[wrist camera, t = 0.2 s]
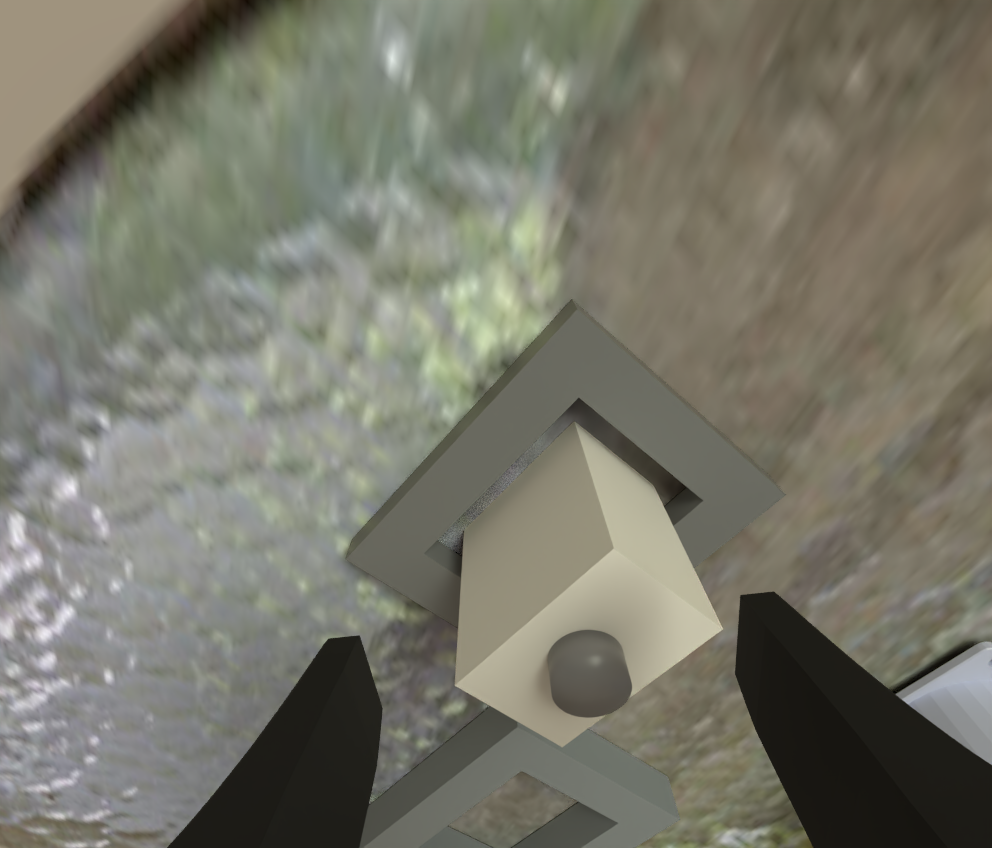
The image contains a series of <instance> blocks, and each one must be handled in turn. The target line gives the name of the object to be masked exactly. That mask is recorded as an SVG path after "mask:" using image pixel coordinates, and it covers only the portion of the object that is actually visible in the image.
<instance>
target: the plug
mask: <svg viewBox="0 0 992 848" xmlns="http://www.w3.org/2000/svg"><path fill="white" fill-rule="evenodd" d="M722 629H723V628H722V626H721V624H720V622H719V620H718V618H717V616H716V613H715V611H714V609H713V607H712V605H711V603H710V601H709V599H708V597H707V595H706V593H705V591H704V589H703V587H702V585H701V582H700V580H699V578H698V576H697V574H696V572H695V570H694V568H693V566H692V564H691V562H690V560H689V558H688V556H687V554H686V551H685V549H684V547H683V545H682V543H681V541H680V539H679V537H678V535H677V533H676V531H675V529H674V527H673V525H672V523H671V521H670V518H669V516H668V514H667V512H666V510H665V508H664V506H663V504H662V502H661V500H660V498H659V496H658V494H657V492H656V490H655V487H654V485H653V484H652V483H651V482H649V481H648V480H647V479H646V478H644V477H643V476H642V475H641V474H639V473H638V472H637V471H636V470H634V469H633V468H632V467H631V466H630V465H628V464H627V463H626V462H625V461H623V460H622V459H621V458H620V457H618V456H617V455H616V454H615V453H613V452H612V451H611V450H610V449H608V448H607V447H606V446H605V445H604V444H602V443H601V442H600V441H599V440H597V439H596V438H595V437H594V436H592V435H591V434H590V433H589V432H587V431H586V430H585V429H584V428H583V427H581V426H580V425H579V424H578V423H576V422H575V421H574V422H572V423H571V424H570V425H569V426H568V427H567V428H566V429H565V430H564V431H563V432H562V433H561V434H560V435H559V436H558V437H557V438H556V439H555V440H554V441H553V442H552V443H551V444H550V445H549V446H548V447H547V448H546V449H545V450H544V451H543V452H542V453H541V454H540V455H539V456H538V457H537V458H536V459H535V460H534V461H533V462H532V463H531V464H530V465H529V466H528V467H527V468H526V469H525V470H524V471H523V472H522V473H521V474H520V475H519V476H518V477H517V478H516V479H515V480H514V481H513V482H512V483H511V484H510V485H509V486H508V487H507V488H506V489H505V490H504V491H503V492H502V493H501V494H500V495H499V496H498V497H497V498H496V499H495V500H494V501H493V502H492V503H491V504H490V505H489V506H488V507H487V508H486V509H485V510H484V511H483V512H482V513H481V514H480V515H479V516H478V517H477V518H476V519H475V520H474V521H473V522H472V523H471V524H470V525H469V526H468V527H467V528H466V529H465V530H464V539H463V556H462V573H461V589H460V606H459V623H458V640H457V656H456V673H455V686H456V687H458V688H460V689H462V690H463V691H465V692H467V693H469V694H470V695H472V696H474V697H476V698H477V699H479V700H481V701H482V702H484V703H486V704H488V705H489V706H491V707H493V708H495V709H496V710H498V711H500V712H502V713H503V714H505V715H507V716H509V717H510V718H512V719H514V720H516V721H517V722H519V723H521V724H523V725H524V726H526V727H528V728H529V729H531V730H533V731H535V732H536V733H538V734H540V735H542V736H543V737H545V738H547V739H549V740H550V741H552V742H554V743H556V744H557V745H559V746H561V747H563V746H565V745H566V744H568V743H569V742H570V741H572V740H573V739H574V738H576V737H577V736H578V735H580V734H581V733H582V732H584V731H585V730H587V729H588V728H589V727H591V726H592V725H593V724H595V723H596V722H597V721H599V720H600V719H601V718H603V717H604V716H606V715H607V714H610V713H612V712H614V711H616V710H617V709H619V708H620V707H621V706H623V705H624V704H625V703H626V702H627V700H628V699H629V698H630V697H631V696H633V695H634V694H635V693H637V692H638V691H640V690H641V689H642V688H644V687H645V686H646V685H648V684H649V683H650V682H652V681H653V680H654V679H656V678H657V677H659V676H660V675H661V674H663V673H664V672H665V671H667V670H668V669H669V668H671V667H672V666H673V665H675V664H676V663H678V662H679V661H680V660H682V659H683V658H684V657H686V656H687V655H688V654H690V653H691V652H693V651H694V650H695V649H697V648H698V647H699V646H701V645H702V644H703V643H705V642H706V641H707V640H709V639H710V638H712V637H713V636H714V635H716V634H717V633H718V632H720V631H721V630H722Z"/></svg>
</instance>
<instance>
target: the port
mask: <svg viewBox="0 0 992 848" xmlns="http://www.w3.org/2000/svg"><path fill="white" fill-rule="evenodd" d="M521 771H523V772H525V773H527V774H528V775H530V776H532V777H534V778H536V779H538V780H540V781H541V782H543V783H545V784H547V785H549V786H551V787H552V788H554V789H556V790H558V791H560V792H562V793H564V794H565V795H567V796H569V797H571V798H573V799H575V800H576V801H578V803H577V804H575V805H574V806H572V807H571V808H569V809H568V810H566V811H565V812H563V813H562V814H561V815H559V816H558V817H556V818H555V819H553V820H552V821H550V822H549V823H547V824H546V825H544V826H543V827H542V828H540V829H539V830H537V831H536V832H534V833H533V834H531V835H530V836H528V837H527V838H525V839H524V840H523V841H521V842H520V843H518V844H517V845H515V846H514V847H512V848H635V847H637V846H638V845H640V844H642V843H643V842H645V841H646V840H648V839H650V838H651V837H653V836H654V835H656V834H658V833H659V832H661V831H663V830H664V829H666V828H667V827H669V826H671V825H672V824H674V823H675V822H677V821H679V820H680V817H679V814H678V810H677V807H676V803H675V800H674V796H673V793H672V789H671V786H670V782H669V779H668V777H667V776H666V775H664V774H662V773H661V772H659V771H657V770H656V769H654V768H652V767H651V766H649V765H647V764H646V763H644V762H642V761H641V760H639V759H637V758H636V757H634V756H632V755H631V754H629V753H627V752H626V751H624V750H622V749H620V748H619V747H617V746H615V745H614V744H612V743H610V742H609V741H607V740H605V739H604V738H602V737H600V736H599V735H597V734H595V733H594V732H592V731H590V730H589V729H587V730H585V731H584V732H582V733H581V734H580V735H578V736H577V737H576V738H574V739H573V740H572V741H570V742H569V743H568V744H566V745H565V746H563V747H561V746H559V745H557V744H556V743H554V742H552V741H550V740H549V739H547V738H545V737H543V736H542V735H540V734H538V733H536V732H535V731H533V730H531V729H529V728H528V727H526V726H524V725H523V724H521V723H519V722H517V721H516V720H514V719H512V718H510V717H509V716H507V715H505V714H503V713H502V712H500V711H498V710H496V709H495V708H493V707H491V706H490V707H489V708H488V709H486V710H485V711H484V712H483V713H482V714H480V715H479V716H478V717H477V718H475V719H474V720H473V721H472V722H471V723H469V724H468V725H467V726H466V727H464V728H463V729H462V730H461V731H460V732H458V733H457V734H456V735H455V736H453V737H452V738H451V739H450V740H449V741H447V742H446V743H445V744H444V745H442V746H441V747H440V748H439V749H438V750H436V751H435V752H434V753H433V754H431V755H430V756H429V757H428V758H427V759H425V760H424V761H423V762H422V763H420V764H419V765H418V766H417V767H416V768H414V769H413V770H412V771H411V772H409V773H408V774H407V775H406V776H405V777H403V778H402V779H401V780H400V781H398V782H397V783H396V784H395V785H394V786H392V787H391V788H390V789H389V790H387V791H386V792H385V793H384V794H383V795H381V796H380V797H379V798H378V799H376V800H375V801H374V802H373V803H372V804H370V805H369V806H368V810H367V815H366V819H365V824H364V828H363V833H362V838H361V842H360V847H359V848H492V847H490V846H488V845H486V844H483V843H481V842H479V841H477V840H475V839H473V838H471V837H469V836H467V835H465V834H463V833H461V832H458V831H456V830H454V829H452V828H450V827H448V825H449V824H451V823H452V822H453V821H455V820H456V819H457V818H459V817H460V816H461V815H463V814H464V813H465V812H467V811H468V810H469V809H471V808H472V807H474V806H475V805H476V804H478V803H479V802H480V801H482V800H483V799H484V798H486V797H487V796H488V795H490V794H491V793H492V792H494V791H495V790H496V789H498V788H499V787H500V786H502V785H503V784H504V783H506V782H507V781H508V780H510V779H511V778H513V777H514V776H515V775H517V774H518V773H519V772H521Z"/></svg>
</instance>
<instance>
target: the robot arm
mask: <svg viewBox="0 0 992 848" xmlns="http://www.w3.org/2000/svg"><path fill="white" fill-rule="evenodd" d="M735 675H736V677H737V680H738V683H739V686H740V689H741V692H742V694H743V697H744V700H745V703H746V706H747V708H748V711H749V714H750V716H751V719H752V722H753V724H754V727H755V730H756V732H757V734H758V736H759V738H760V740H761V742H762V744H763V746H764V748H765V750H766V752H767V754H768V757H769V759H770V761H771V763H772V765H773V767H774V769H775V771H776V773H777V775H778V777H779V779H780V781H781V783H782V785H783V787H784V789H785V791H786V793H787V795H788V797H789V799H790V801H791V803H792V805H793V807H794V809H795V811H796V813H797V815H798V817H799V819H800V821H801V823H802V825H803V827H804V829H805V831H806V833H807V835H808V837H809V839H810V841H811V843H812V845H813V848H992V643H991V642H981V643H978V644H976V645H974V646H973V647H971V648H969V649H968V650H966V651H965V652H963V653H961V654H960V655H958V656H956V657H955V658H953V659H952V660H950V661H948V662H947V663H945V664H943V665H942V666H940V667H939V668H937V669H935V670H934V671H932V672H930V673H929V674H927V675H926V676H924V677H922V678H921V679H919V680H917V681H916V682H914V683H913V684H911V685H909V686H908V687H906V688H904V689H903V690H901V691H900V692H898V693H896V694H894V693H893V692H892V691H890V690H889V689H888V688H887V687H885V686H884V685H883V684H882V683H881V682H879V681H878V680H877V679H876V678H874V677H873V676H872V675H871V674H870V673H868V672H867V671H866V670H865V669H863V668H862V667H861V666H860V665H858V664H857V663H856V662H855V661H854V660H852V659H851V658H850V657H849V656H848V655H847V654H845V653H844V652H843V651H842V650H841V649H839V648H838V647H837V646H836V645H835V644H834V643H832V642H831V641H830V640H829V639H828V638H827V637H826V636H824V635H823V634H822V633H821V632H820V631H819V630H817V629H816V628H815V627H814V626H813V625H812V624H811V623H809V622H808V621H807V620H806V619H805V618H804V617H803V616H802V615H800V614H799V613H798V612H797V611H796V610H795V609H794V608H792V607H791V606H790V605H789V604H788V603H787V602H786V601H784V600H783V599H782V598H781V597H780V596H779V595H777V594H776V593H775V592H766V593H756V594H747V595H740V610H739V624H738V639H737V654H736V668H735ZM381 720H382V705H381V702H380V699H379V696H378V693H377V689H376V686H375V683H374V680H373V677H372V673H371V670H370V667H369V664H368V661H367V658H366V654H365V651H364V648H363V645H362V642H361V638H360V635H359V636H350V637H340V638H331V639H328V640H327V641H326V642H325V644H324V645H323V646H322V648H321V649H320V651H319V652H318V654H317V655H316V656H315V658H314V659H313V661H312V662H311V664H310V665H309V667H308V668H307V670H306V671H305V672H304V674H303V675H302V677H301V678H300V680H299V681H298V683H297V684H296V686H295V687H294V688H293V690H292V691H291V693H290V694H289V695H288V697H287V698H286V700H285V701H284V703H283V704H282V705H281V707H280V708H279V710H278V711H277V712H276V714H275V715H274V716H273V718H272V719H271V720H270V722H269V723H268V725H267V726H266V727H265V729H264V730H263V731H262V733H261V734H260V735H259V737H258V738H257V740H256V741H255V742H254V744H253V745H252V746H251V748H250V749H249V750H248V752H247V753H246V754H245V755H244V757H243V758H242V759H241V760H240V762H239V763H238V764H237V765H236V767H235V768H234V769H233V770H232V772H231V773H230V774H229V775H228V777H227V778H226V779H225V781H224V782H223V783H222V784H221V786H220V787H219V788H218V789H217V791H216V792H215V793H214V794H213V796H212V797H211V798H210V799H209V800H208V802H207V803H206V804H205V805H204V806H203V807H202V809H201V810H200V811H199V812H198V813H197V815H196V816H195V817H194V818H193V819H192V820H191V822H190V823H189V824H188V825H187V826H186V827H185V828H184V830H183V831H182V832H181V833H180V834H179V835H178V836H177V837H176V838H175V840H174V841H173V842H172V843H171V844H170V845H169V846H168V847H167V848H359V847H360V842H361V838H362V833H363V828H364V824H365V819H366V815H367V810H368V805H369V800H370V796H371V791H372V786H373V781H374V777H375V772H376V767H377V759H378V750H379V741H380V731H381Z"/></svg>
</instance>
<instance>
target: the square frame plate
mask: <svg viewBox="0 0 992 848" xmlns="http://www.w3.org/2000/svg"><path fill="white" fill-rule="evenodd" d="M578 398H580V399H581V400H582V401H584V402H585V403H586V404H587V405H588V406H590V407H591V408H592V409H593V410H594V411H596V412H597V413H598V414H599V415H601V416H602V417H603V418H604V419H605V420H607V421H608V422H609V423H610V424H611V425H613V426H614V427H615V428H616V429H617V430H619V431H620V432H621V433H622V434H623V435H625V436H626V437H627V438H628V439H630V440H631V441H632V442H633V443H634V444H636V445H637V446H638V447H639V448H640V449H642V450H643V451H644V452H645V453H646V454H648V455H649V456H650V457H651V458H652V459H654V460H655V461H656V462H657V463H659V464H660V465H661V466H662V467H663V468H665V469H666V470H667V471H668V472H669V473H671V474H672V475H673V476H674V477H675V478H677V479H678V480H679V481H680V482H681V483H683V484H684V485H685V486H686V487H687V488H685V489H684V490H683V491H682V492H681V493H680V494H678V495H677V496H676V497H675V498H674V499H673V500H672V501H670V502H669V503H668V504H667V505H666V506H665V507H664V508H665V510H666V512H667V514H668V516H669V518H670V521H671V523H672V525H673V527H674V529H675V531H676V533H677V535H678V537H679V539H680V541H681V543H682V545H683V547H684V549H685V551H686V554H687V556H688V558H689V560H690V562H691V564H692V566H693V568H695V567H696V566H698V565H699V564H700V563H701V562H703V561H704V560H705V559H706V558H708V557H709V556H710V555H711V554H713V553H714V552H715V551H716V550H718V549H719V548H720V547H721V546H723V545H724V544H725V543H726V542H728V541H729V540H730V539H731V538H733V537H734V536H735V535H736V534H738V533H739V532H740V531H741V530H743V529H744V528H745V527H746V526H748V525H749V524H750V523H751V522H753V521H754V520H755V519H756V518H758V517H759V516H760V515H761V514H763V513H764V512H765V511H766V510H768V509H769V508H770V507H771V506H773V505H774V504H775V503H776V502H778V501H779V500H780V499H782V498H783V497H784V496H785V495H786V494H785V493H784V492H783V491H782V489H781V488H780V487H779V486H778V485H777V483H776V482H775V481H774V480H773V479H772V478H771V476H769V475H768V474H767V473H766V472H765V471H764V470H763V469H762V468H760V467H759V466H758V465H757V464H756V463H755V462H754V461H753V460H751V459H750V458H749V457H748V456H747V455H746V454H745V453H744V452H743V451H741V450H740V449H739V448H738V447H737V446H736V445H735V444H734V443H732V442H731V441H730V440H729V439H728V438H727V437H726V436H725V435H723V434H722V433H721V432H720V431H719V430H718V429H717V428H716V427H715V426H713V425H712V424H711V423H710V422H709V421H708V420H707V419H706V418H704V417H703V416H702V415H701V414H700V413H699V412H698V411H697V410H696V409H694V408H693V407H692V406H691V405H690V404H689V403H688V402H687V401H685V400H684V399H683V398H682V397H681V396H680V395H679V394H678V393H676V392H675V391H674V390H673V389H672V388H671V387H670V386H669V385H668V384H666V383H665V382H664V381H663V380H662V379H661V378H660V377H659V376H657V375H656V374H655V373H654V372H653V371H652V370H651V369H650V368H648V367H647V366H646V365H645V364H644V363H643V362H642V361H641V360H640V359H638V358H637V357H636V356H635V355H634V354H633V353H632V352H631V351H629V350H628V349H627V348H626V347H625V346H624V345H623V344H622V343H620V342H619V341H618V340H617V339H616V338H615V337H614V336H613V335H612V334H610V333H609V332H608V331H607V330H606V329H605V328H604V327H603V326H601V325H600V324H599V323H598V322H597V321H596V320H595V319H594V318H592V317H591V316H590V315H589V314H588V313H587V312H586V311H585V310H584V309H582V308H581V307H580V306H579V305H578V304H577V303H576V302H575V301H573V300H571V301H570V302H569V303H568V304H567V305H566V306H565V307H564V308H563V310H562V311H561V312H560V313H559V314H558V315H557V316H556V317H555V318H554V319H553V320H552V322H551V323H550V324H549V325H548V326H547V327H546V328H545V329H544V330H543V331H542V333H541V334H540V335H539V336H538V337H537V338H536V339H535V340H534V341H533V342H532V343H531V345H530V346H529V347H528V348H527V349H526V350H525V351H524V352H523V353H522V354H521V355H520V357H519V358H518V359H517V360H516V361H515V362H514V363H513V364H512V365H511V366H510V367H509V369H508V370H507V371H506V372H505V373H504V374H503V375H502V376H501V377H500V378H499V379H498V381H497V382H496V383H495V384H494V385H493V386H492V387H491V388H490V389H489V390H488V391H487V393H486V394H485V395H484V396H483V397H482V398H481V399H480V400H479V401H478V402H477V403H476V405H475V406H474V407H473V408H472V409H471V410H470V411H469V412H468V413H467V414H466V416H465V417H464V418H463V419H462V420H461V421H460V422H459V423H458V424H457V425H456V426H455V428H454V429H453V430H452V431H451V432H450V433H449V434H448V435H447V436H446V437H445V438H444V440H443V441H442V442H441V443H440V444H439V445H438V446H437V447H436V448H435V449H434V450H433V452H432V453H431V454H430V455H429V456H428V457H427V458H426V459H425V460H424V461H423V462H422V464H421V465H420V466H419V467H418V468H417V469H416V470H415V471H414V472H413V473H412V474H411V476H410V477H409V478H408V479H407V480H406V481H405V482H404V483H403V484H402V485H401V486H400V488H399V489H398V490H397V491H396V492H395V493H394V494H393V495H392V496H391V497H390V499H389V500H388V501H387V502H386V503H385V504H384V505H383V506H382V507H381V508H380V509H379V511H378V512H377V513H376V514H375V515H374V516H373V517H372V518H371V519H370V520H369V521H368V523H367V524H366V525H365V526H364V527H363V528H362V529H361V530H360V531H359V532H358V533H357V535H356V536H355V537H354V538H353V539H352V542H351V545H350V548H349V551H348V554H347V557H346V559H345V560H347V561H349V562H350V563H352V564H354V565H355V566H357V567H359V568H360V569H362V570H363V571H365V572H367V573H368V574H370V575H372V576H373V577H375V578H376V579H378V580H380V581H381V582H383V583H385V584H386V585H388V586H390V587H391V588H393V589H394V590H396V591H398V592H399V593H401V594H403V595H404V596H406V597H408V598H409V599H411V600H412V601H414V602H416V603H417V604H419V605H421V606H422V607H424V608H426V609H427V610H429V611H430V612H432V613H434V614H435V615H437V616H439V617H440V618H442V619H443V620H445V621H447V622H448V623H450V624H452V625H453V626H455V627H457V628H458V623H459V606H460V589H461V573H462V557H461V556H460V555H458V554H457V553H455V552H454V551H452V550H451V549H449V548H448V547H446V546H445V545H443V544H442V543H440V542H439V541H437V540H438V539H439V538H440V537H441V536H442V535H443V534H444V533H445V532H446V531H447V530H448V529H449V528H450V527H451V526H452V525H453V524H454V523H455V522H456V521H457V520H458V519H459V518H460V517H461V516H462V515H463V514H464V513H465V512H466V511H467V510H468V509H469V508H470V507H471V506H472V505H473V504H474V503H475V502H476V501H477V500H478V499H479V498H480V497H481V496H482V495H483V494H484V493H485V492H486V491H487V490H488V489H489V488H490V487H491V486H492V485H493V484H494V483H495V482H496V480H497V479H498V478H499V477H500V476H501V475H502V474H503V473H504V472H505V471H506V470H507V469H508V468H509V467H510V466H511V465H512V464H513V463H514V462H515V461H516V460H517V459H518V458H519V457H520V456H521V455H522V454H523V453H524V452H525V451H526V450H527V449H528V448H529V447H530V446H531V445H532V444H533V443H534V442H535V441H536V440H537V439H538V438H539V437H540V436H541V435H542V434H543V433H544V432H545V431H546V430H547V429H548V428H549V427H550V426H551V425H552V424H553V423H554V422H555V421H556V420H557V419H558V418H559V417H560V416H561V415H562V414H563V413H564V412H565V411H566V410H567V409H568V408H569V407H570V406H571V405H572V404H573V403H574V402H575V401H576V400H577V399H578Z"/></svg>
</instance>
